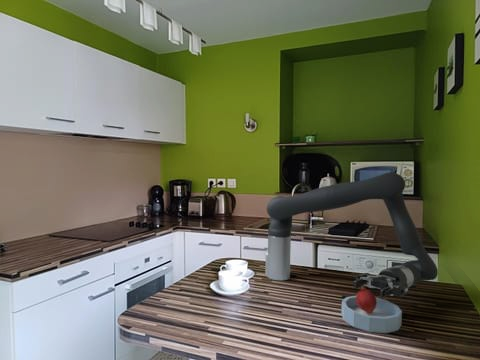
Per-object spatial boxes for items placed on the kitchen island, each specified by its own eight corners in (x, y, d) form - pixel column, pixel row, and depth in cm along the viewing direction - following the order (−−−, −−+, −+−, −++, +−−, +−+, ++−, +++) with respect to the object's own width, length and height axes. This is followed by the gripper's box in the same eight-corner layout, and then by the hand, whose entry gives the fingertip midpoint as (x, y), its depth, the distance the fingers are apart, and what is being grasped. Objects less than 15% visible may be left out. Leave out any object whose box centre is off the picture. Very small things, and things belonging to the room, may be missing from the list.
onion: (364, 313, 101) (356, 286, 104) (382, 311, 98) (374, 283, 101) (357, 316, 97) (349, 288, 100) (376, 314, 94) (367, 285, 96)
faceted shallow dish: (333, 320, 96) (334, 307, 96) (352, 303, 108) (353, 291, 108) (392, 338, 86) (393, 323, 86) (405, 317, 98) (406, 304, 98)
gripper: (375, 262, 111) (347, 270, 101) (419, 273, 100) (391, 283, 90) (375, 283, 111) (346, 293, 102) (418, 297, 100) (390, 310, 90)
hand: (367, 288), depth 96 cm, fingers open, 8 cm apart
